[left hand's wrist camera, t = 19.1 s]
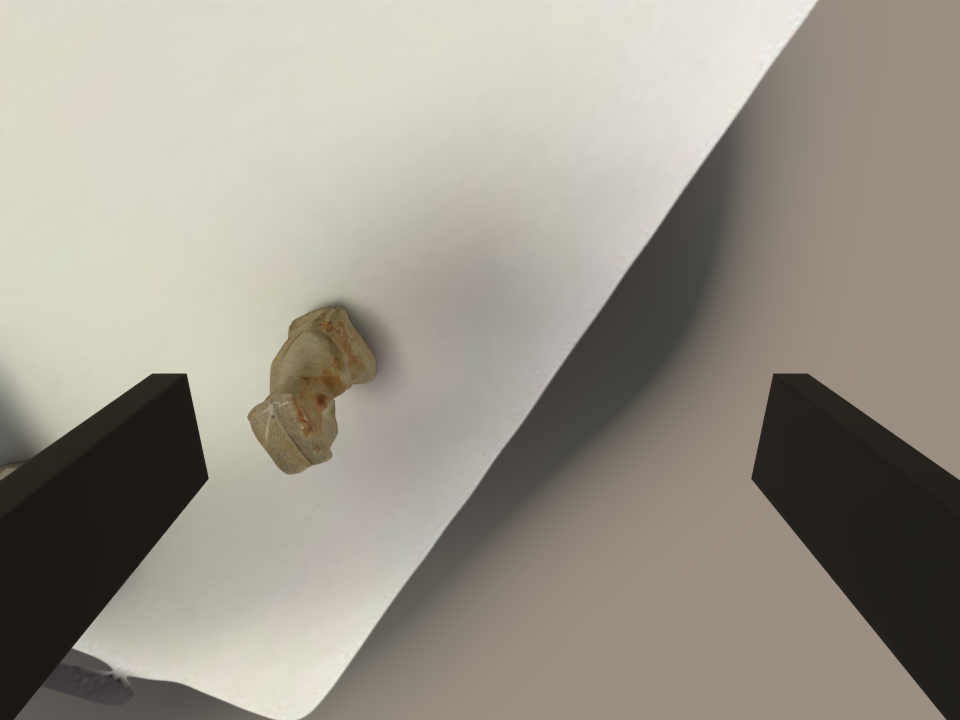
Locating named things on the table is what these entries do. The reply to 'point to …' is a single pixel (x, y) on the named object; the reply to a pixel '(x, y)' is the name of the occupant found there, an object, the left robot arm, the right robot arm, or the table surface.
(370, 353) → the sculpture
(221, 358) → the table surface
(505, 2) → the table surface
